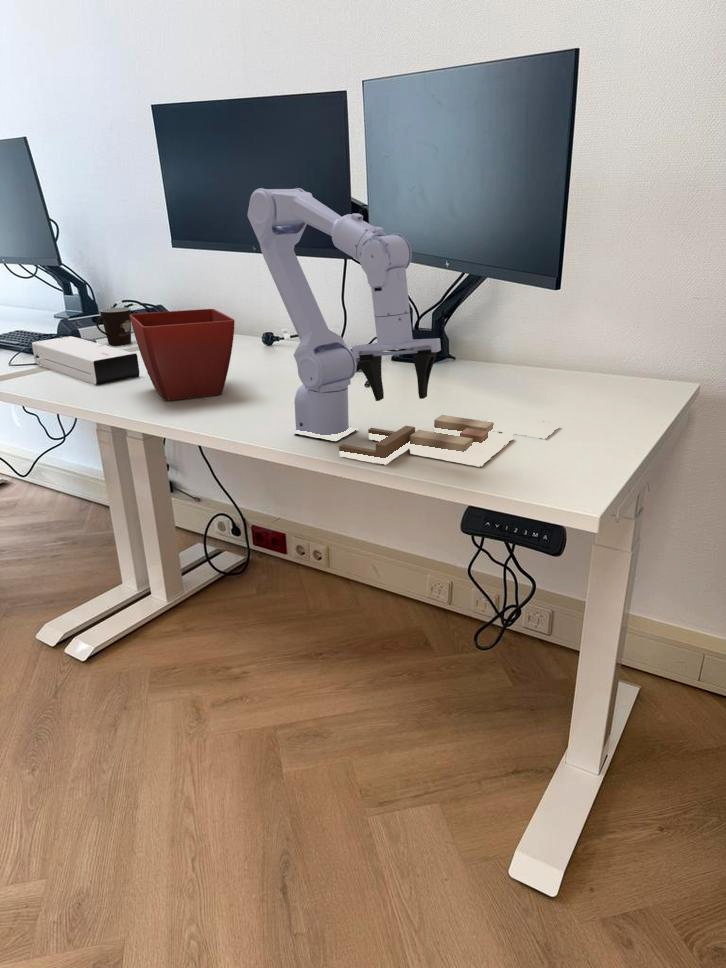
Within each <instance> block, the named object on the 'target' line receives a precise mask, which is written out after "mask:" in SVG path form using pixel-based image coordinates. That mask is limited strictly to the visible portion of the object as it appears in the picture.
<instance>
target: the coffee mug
mask: <svg viewBox="0 0 726 968" xmlns="http://www.w3.org/2000/svg"><path fill="white" fill-rule="evenodd" d="M99 314H100V317H98V318H97V319H96V321H95V323H96V329H98V331H99V332H100V333H102V334H103V335H105V336H106V339H107V343H108V346H110V345H111V346H110V347H122V346H121V345H124V346H128V344H129V345H131V344H132V323H131V319H130V314H132V312H131V308H129V307H108V308H103V309H102V308H101V309H100V310H99ZM100 321H102V323H103V324H102V325H103V328H104V330H102V329H101V327H100V326H99V322H100Z"/></svg>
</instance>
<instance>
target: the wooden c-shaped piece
mask: <svg viewBox="0 0 726 968" xmlns="http://www.w3.org/2000/svg"><path fill="white" fill-rule="evenodd" d="M415 432H416V427H415V426H412V425H404V426H403V427H401V428H400V429H398V430H397V431H393V430H388V429H383V428H376V427H370V428H368V431H367V434H368V433H372V434H379V435H385V436H388V437H386V438H385V439H383V440H381V441H380V442H376V443H375V449H373V448H366V447H362V446H356V445H351V444H346V443H342V444H339V446H338V452H339V451H344V452H350V453H357V454H363V455H368V456H374V457H380V458H386V457H388V456H389V455H390V454H392V453H393V452H394V451H396V450H398V449H399V448H400V447H402V446H403V445H405V444H406V443H408V442H409V441H410V435H411V434H413V433H415Z"/></svg>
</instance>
